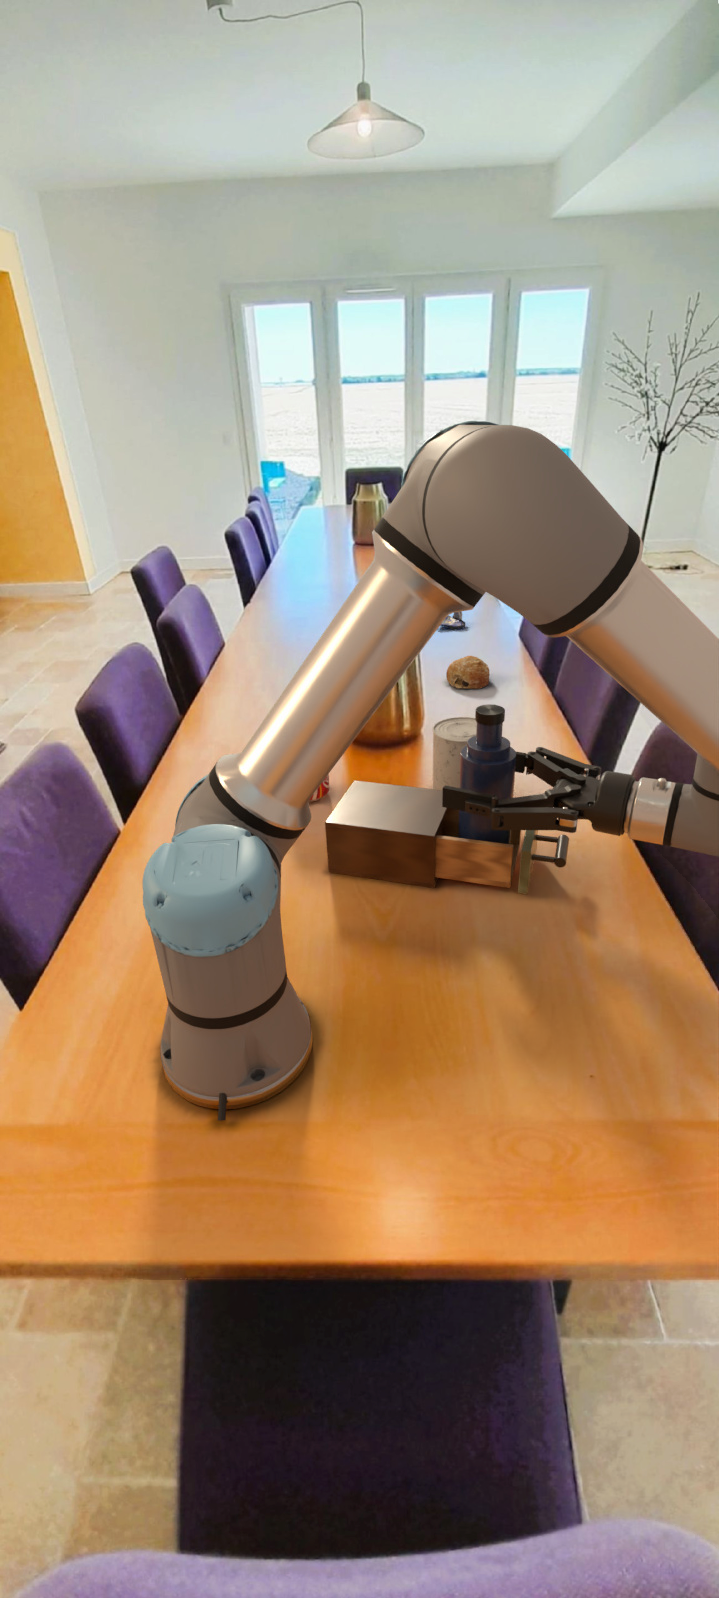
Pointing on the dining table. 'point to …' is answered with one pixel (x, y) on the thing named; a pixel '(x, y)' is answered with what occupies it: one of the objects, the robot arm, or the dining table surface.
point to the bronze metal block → (385, 833)
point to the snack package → (454, 621)
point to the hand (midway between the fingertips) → (461, 774)
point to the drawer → (490, 855)
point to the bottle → (487, 772)
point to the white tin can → (450, 749)
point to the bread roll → (468, 673)
